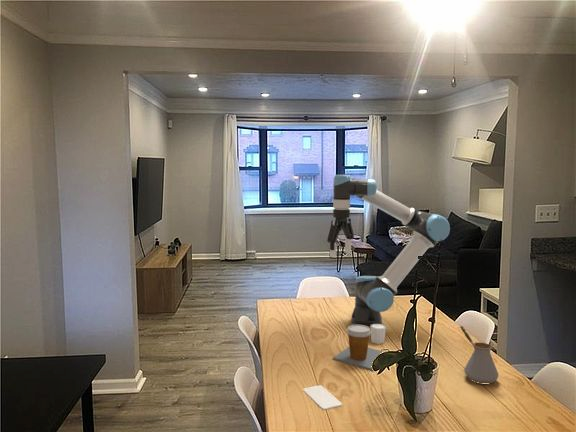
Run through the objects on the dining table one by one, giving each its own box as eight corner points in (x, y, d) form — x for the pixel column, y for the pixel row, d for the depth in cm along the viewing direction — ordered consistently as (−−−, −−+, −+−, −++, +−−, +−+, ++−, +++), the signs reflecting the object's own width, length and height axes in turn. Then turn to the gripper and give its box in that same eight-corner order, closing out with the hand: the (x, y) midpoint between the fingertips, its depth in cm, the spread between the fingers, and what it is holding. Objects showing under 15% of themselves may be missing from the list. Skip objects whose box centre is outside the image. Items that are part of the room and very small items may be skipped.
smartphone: (320, 384, 160) (343, 404, 147) (320, 386, 160) (343, 406, 147) (302, 388, 157) (323, 409, 144) (302, 390, 157) (323, 411, 144)
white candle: (366, 341, 202) (367, 326, 201) (375, 337, 207) (375, 322, 206) (380, 345, 197) (380, 329, 197) (388, 341, 202) (389, 325, 202)
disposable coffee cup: (364, 351, 188) (365, 323, 187) (374, 361, 179) (374, 331, 178) (342, 353, 186) (343, 325, 185) (351, 363, 177) (352, 333, 176)
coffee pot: (505, 386, 161) (507, 345, 159) (474, 388, 159) (476, 346, 157) (472, 361, 182) (473, 324, 180) (445, 362, 180) (446, 325, 178)
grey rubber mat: (353, 345, 197) (354, 343, 197) (393, 355, 186) (393, 353, 186) (332, 359, 182) (332, 357, 182) (373, 371, 172) (373, 369, 172)
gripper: (347, 206, 219) (346, 250, 221) (319, 210, 199) (319, 258, 201) (361, 207, 215) (360, 252, 217) (334, 211, 195) (333, 260, 197)
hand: (340, 255), depth 209 cm, fingers open, 13 cm apart
